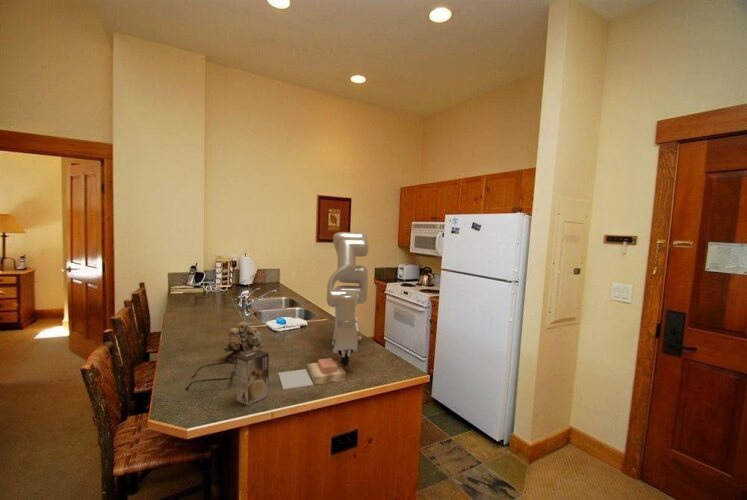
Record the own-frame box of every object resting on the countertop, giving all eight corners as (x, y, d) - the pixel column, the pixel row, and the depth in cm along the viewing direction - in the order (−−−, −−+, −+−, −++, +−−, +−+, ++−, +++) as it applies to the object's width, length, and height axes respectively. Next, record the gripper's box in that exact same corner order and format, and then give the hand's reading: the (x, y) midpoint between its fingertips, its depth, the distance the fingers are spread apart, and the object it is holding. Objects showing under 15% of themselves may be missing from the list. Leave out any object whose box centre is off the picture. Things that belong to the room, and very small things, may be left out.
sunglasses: (193, 375, 138) (193, 363, 138) (237, 371, 143) (237, 360, 143) (182, 394, 123) (182, 381, 122) (232, 389, 127) (233, 376, 127)
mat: (305, 370, 146) (306, 369, 145) (313, 385, 132) (313, 384, 132) (278, 374, 141) (278, 372, 141) (283, 390, 127) (283, 388, 127)
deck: (336, 366, 150) (336, 360, 150) (345, 380, 137) (346, 373, 137) (307, 370, 145) (307, 364, 145) (314, 385, 132) (314, 377, 132)
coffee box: (257, 390, 126) (257, 349, 125) (269, 395, 123) (269, 352, 122) (235, 401, 118) (236, 356, 117) (247, 406, 115) (248, 360, 114)
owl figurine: (226, 367, 147) (226, 328, 145) (219, 358, 156) (219, 322, 155) (267, 358, 158) (267, 322, 157) (258, 350, 167) (258, 316, 166)
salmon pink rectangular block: (331, 363, 147) (331, 358, 146) (337, 371, 138) (337, 366, 138) (317, 365, 144) (317, 359, 144) (322, 373, 136) (323, 367, 136)
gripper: (359, 319, 149) (358, 359, 151) (326, 321, 144) (325, 363, 145) (365, 323, 143) (364, 366, 144) (331, 326, 137) (330, 370, 138)
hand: (344, 364), depth 144 cm, fingers closed
